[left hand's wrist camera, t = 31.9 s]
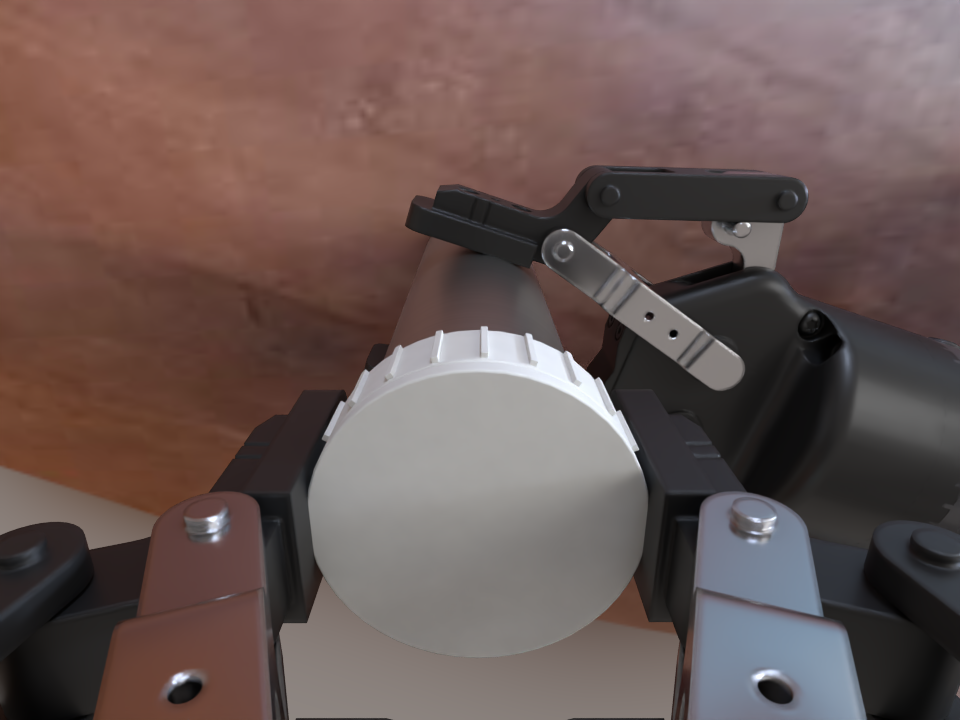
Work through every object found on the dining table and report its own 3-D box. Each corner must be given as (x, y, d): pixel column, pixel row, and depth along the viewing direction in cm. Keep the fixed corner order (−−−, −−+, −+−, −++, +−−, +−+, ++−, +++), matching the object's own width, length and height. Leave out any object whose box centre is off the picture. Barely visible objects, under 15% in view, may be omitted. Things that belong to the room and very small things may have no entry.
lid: (685, 493, 11) (721, 558, 9) (452, 631, 12) (448, 709, 11) (512, 259, 9) (518, 288, 8) (264, 442, 11) (225, 499, 9)
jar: (400, 262, 25) (291, 478, 10) (480, 189, 24) (485, 312, 9) (472, 336, 27) (466, 627, 12) (550, 270, 26) (655, 494, 11)
